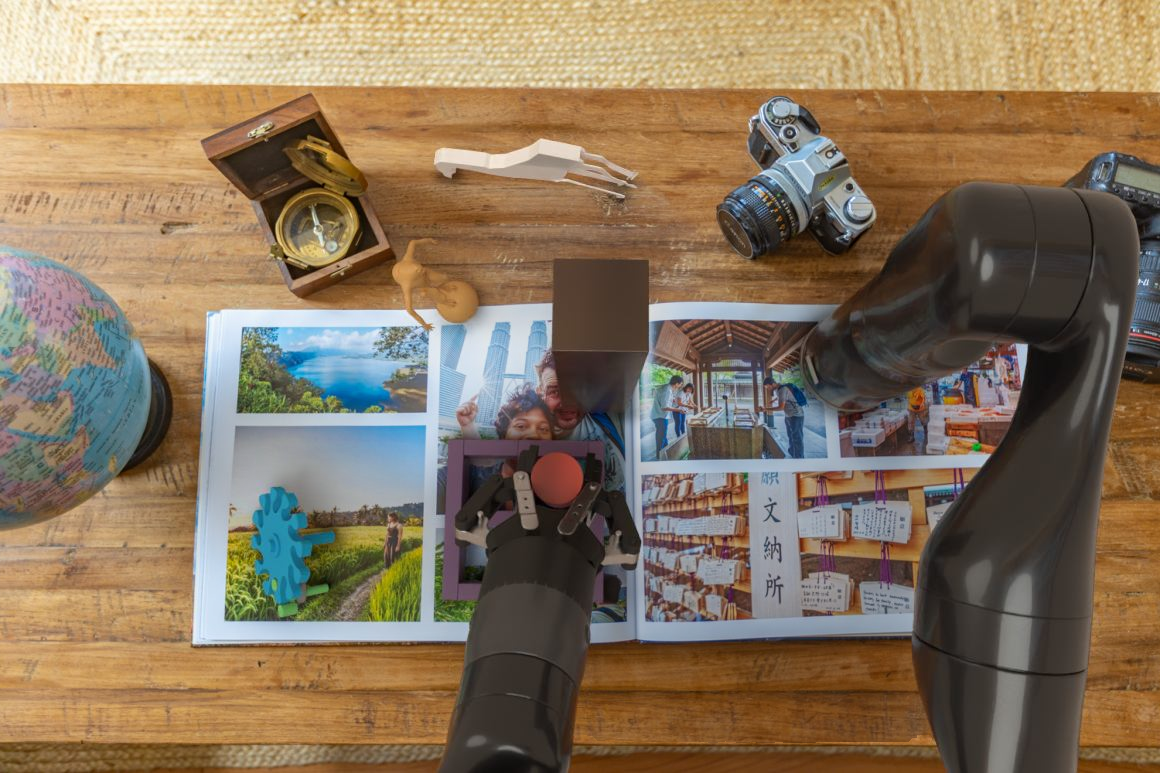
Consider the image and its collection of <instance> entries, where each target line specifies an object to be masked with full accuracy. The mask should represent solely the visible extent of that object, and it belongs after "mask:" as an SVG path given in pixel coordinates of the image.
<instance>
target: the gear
mask: <svg viewBox="0 0 1160 773" xmlns="http://www.w3.org/2000/svg"><path fill="white" fill-rule="evenodd" d="M258 501H259V505H260V508H261V509H255V510H254V512H253V514H252V517H251V519H252V523H253V524H254V525H255V526H256V528H257V530H258V533H254V534H251V538H250V547H251V549H252V550H258V551H259V552H260V554H261V556H262V558H260V559H256V560H255V561H254V570H255V575H257V576H260V575H265V574H269V578H268V579H265V580H263V581H262V590H263V592H264V594H265V596H272V595H273V600H274V601H275V603H276V604H278V606H277V614H278V617H279V618H285V617H290V616H293V615H297V614H298V612H299V607H298V604H301V603H305V601H306V599H307V597H310V596H314V595H319V594H324V593H328V592H329V589H330V588H329V585H328V583H323V584H318V585H313V586H308V587H307V585H306V584H307V582H308V581H309V579H310V576H311V571H310V568H309V567H308V566H307V565H306V558H305V557H311V555H312V549H313V548H312V547H313V546H318V545H325V544H330V543H331V544H332V543H334V542H335V541H336V534H335V532H334V531H333V530H328V531H322V532H315V533H309V534H303V533H302V532H298V530H302V529H306V528H307V527H308V517H307V513H306V512H297V513H293V514H291V512H292V509H295V508H297V507H298V505H299V499H298V497H297V495H296V494H295V492H287V490H286V488H284V487H283V486H281V485H279V486H271V487H270V488H269V493H262V494H260V495H259V496H258Z"/></svg>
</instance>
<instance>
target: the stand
mask: <svg viewBox="0 0 1160 773" xmlns="http://www.w3.org/2000/svg"><path fill="white" fill-rule="evenodd" d="M552 264H553V265H552V266H553V267H552V270H553V272H552V308H551V309H552V310H551V313H552V314H551V354H552V361H553V366H554V372H555V378H556V384H557V388H558V396H559V401H560V405H561V411H562V413H598V414H599V413H601V414H603V413H605V414H606V413H608V414H609V413H610V414H626V413H627V411H628V408H629V406H630V403H631V401H632V398H633V395H634V392H635V390H636V387H637V384H638V383H639V379H640V378H641V377H640V376H641V373H642V371H643V369H644V367H645V363H646V360H647V358H648V356H649V352H650V261H649V259H638V258H637V259H636V258H635V259H633V258H632V259H631V258H630V259H629V258H628V259H627V258H625V259H624V258H618V259H617V258H561V257H560V258H553V263H552Z"/></svg>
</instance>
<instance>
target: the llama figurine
mask: <svg viewBox="0 0 1160 773" xmlns="http://www.w3.org/2000/svg"><path fill="white" fill-rule="evenodd" d="M434 154H435V155H434V160H433V166H434V167H435V168H436V170H437V171H438V172H440V173H442V174H443V176H444V177H446V178H449V179H453V174H456V173H457V172H456V171H457V169H461V170H467V171H474V172H477V173H478V172H479V173H482V174H487V175H493V176H498V177H503V178H504V177H505V178H514V179H524V180H525V179H526V180H539V181H552V182H555V183H560V182H564V183H569V184H573V185H577V186H581V187H584V188H589V189H592V190H594V191H595V190H596V191H599V192H603V193H607V194H611V195H614V196H615V198H616V199H625V198H626V195H624V194H622V193H619V192H615V191H611V190H607V189H604V188H600V187H597V186H593V185H588V184H585V183H582V182H578V181H576V180H574V179H573V180H572V179H569V178H565V177H566V176H567V173H568V174H573V175H578V176H584V177H589V178H593V179H597V180H600V181H606V182H610V183H613V184H617V186H618V187H621V186H624V185H625V187H630V188H632V189H637V188H638V187H637V186H636V185H635V184H632V183H628V180H629V179H630V181H632V180H634V179H635V178H636V177H637V176H638V175H639V171H638V172H637V169H634V170H633V171H631V170H629V169H626V168H624V167H621V166H619V165H618V164H616V163H614V162H612V161H611V162H610V161H609V160H608V159H606V157H605V156H603V155H599V154H594V153H590V152H586V149H585V148H584V147H582V145H581V146H580V145H575V144H572V143H566V142H562V141H561V142H560V141H556V140H550V139H546V138H539V139H538V140H536V141H535V142H534V143H532V144H531V145H529V146H525V147H523V148H522V147H521V148H519V149H516V150H512V151H510V152H507V153H495V154H491V153H488V152H484V151H477V150H468V149H459V148H451V147H441V148H439V149H437V150H436V151H435V153H434ZM583 159H586V160H593V161H597V162H599V163H601V164H604V165H605V166H607V167H608V168H609V169H611V170H612V171H615V172H617V173H618V174H622V175H623V176H626V180H623V179H618V178H617V177H614V176H612V175H611V174H610V173H609V172H608V171H606V170H605V168H603V167H602V166H597V165H593V164H588V163H584V162H585V161H584V160H583Z"/></svg>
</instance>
